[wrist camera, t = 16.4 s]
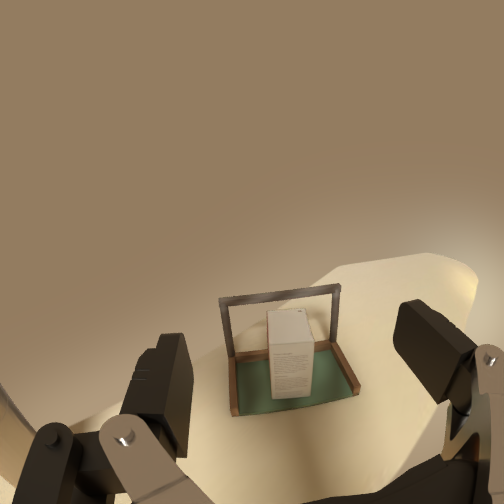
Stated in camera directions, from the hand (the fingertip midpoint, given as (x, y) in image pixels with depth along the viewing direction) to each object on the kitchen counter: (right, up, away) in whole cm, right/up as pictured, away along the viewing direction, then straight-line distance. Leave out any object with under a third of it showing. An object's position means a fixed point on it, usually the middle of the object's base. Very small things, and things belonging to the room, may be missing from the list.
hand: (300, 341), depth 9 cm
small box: (+4, -16, +29) cm, 33 cm away
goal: (+4, -16, +29) cm, 34 cm away
